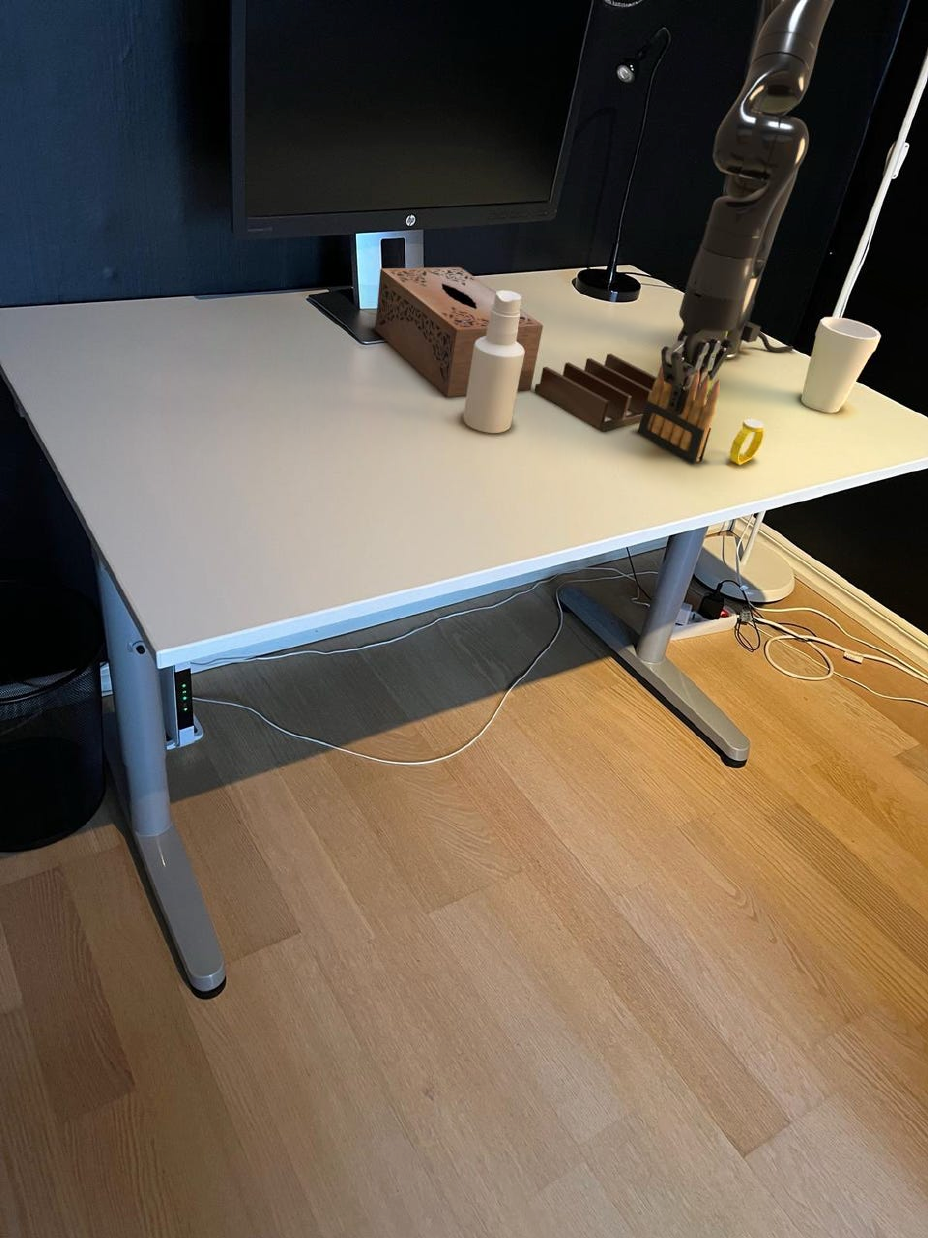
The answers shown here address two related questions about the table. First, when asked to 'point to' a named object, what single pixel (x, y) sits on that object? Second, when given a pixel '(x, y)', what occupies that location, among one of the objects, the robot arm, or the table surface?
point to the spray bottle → (496, 368)
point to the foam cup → (837, 361)
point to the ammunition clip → (680, 418)
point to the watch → (747, 429)
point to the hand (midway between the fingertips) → (679, 410)
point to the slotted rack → (599, 391)
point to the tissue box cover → (444, 323)
